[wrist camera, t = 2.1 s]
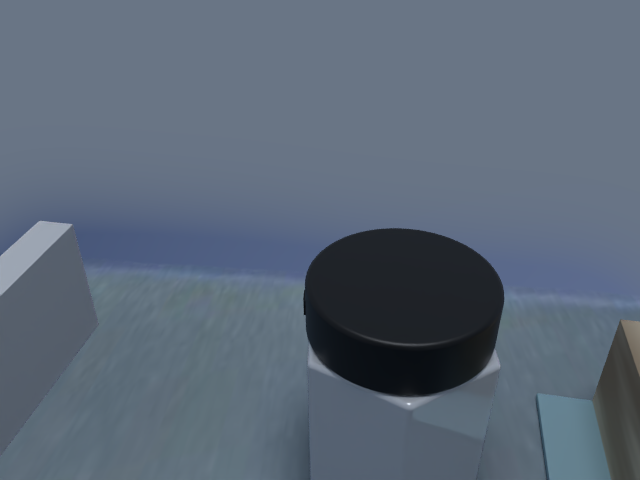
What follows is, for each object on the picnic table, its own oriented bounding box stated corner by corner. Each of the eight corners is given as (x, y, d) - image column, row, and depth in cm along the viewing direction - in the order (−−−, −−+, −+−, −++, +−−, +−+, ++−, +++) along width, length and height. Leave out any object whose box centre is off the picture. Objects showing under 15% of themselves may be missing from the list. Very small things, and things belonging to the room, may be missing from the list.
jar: (410, 381, 36) (429, 207, 30) (507, 486, 30) (557, 298, 24) (275, 441, 33) (262, 259, 26) (355, 575, 27) (364, 382, 20)
